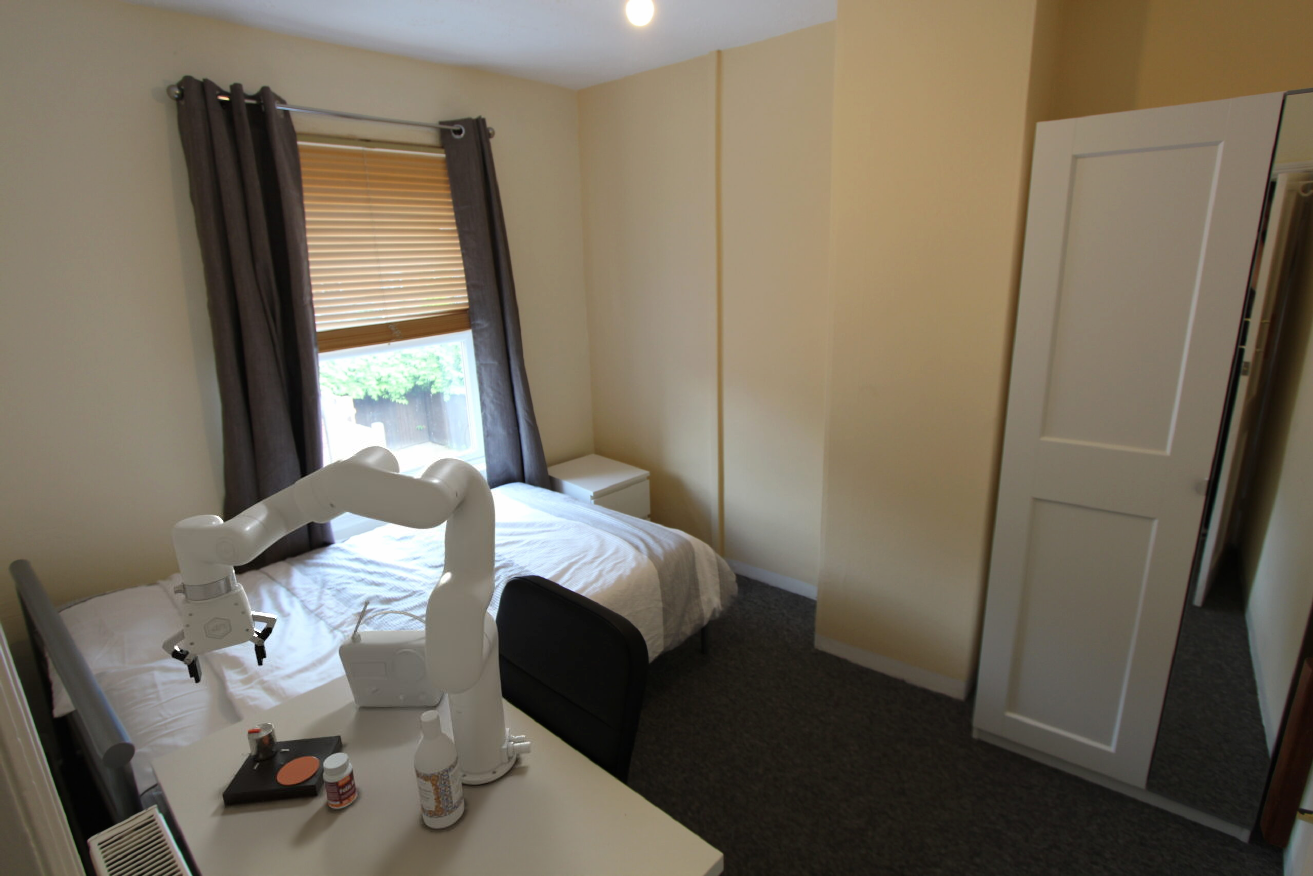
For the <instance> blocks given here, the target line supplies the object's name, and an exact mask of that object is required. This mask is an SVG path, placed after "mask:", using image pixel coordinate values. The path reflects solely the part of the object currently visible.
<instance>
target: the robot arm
mask: <svg viewBox="0 0 1313 876" xmlns="http://www.w3.org/2000/svg"><path fill="white" fill-rule="evenodd" d="M400 471H401V467H400V461H399V458H398V457H397V456H396V454H395V453H394V452H393V451H392V450H391V449H389V448H388V447H385V446H383V445H378V444H370V445H366V446H362V447H359V448H357V449H356V450H353V451H352V452H349V453H348V454H345V455H344V456H341V457H340V458H338V459H336V460H335V461H332V462H331V463H329V464H327V465H325V466H323V467H321V468H320V469H318V470H316V471H314V472H311V473H310V474H307V475H306V476H304V477H302V478H300V479H298V480H297V481H295V483H294V484H291V485H290V486H287V487H286V488H284V489H282V490H280V491H278V492H276V493H274V494H272V495H270V496H269V497H266V498H264V499H262V500H261V501H259V502H257V503H255V504H254V505H252V506H250V507H248V508H247V509H245V510H243V511H242V512H241V513H239V514H237V515H236V516H234V517H232V518H231V519H229V520H226V521H223V520H222V518H221V517H219V516H218V515H215V514H201V515H195V516H191V517H187V518H185V519H182V520H179V521H178V522H177V523H175V524H174V525H173V527H172V528H171V538H172V543H173V548H174V552H175V556H176V559H177V560H176V561H177V564H178V568H179V572H180V577H181V581H182V582H181V584H179V585H176V586H173V593H174V595H178V594H180V595H182V594H183V598H182V600H181V602H180V603H181V607H180V609H181V610H180V611H181V613H180V614H181V622H182V623H181V624H182V629H180V630H179V631H178V632H176V633H175V634H173V635H172V636H170V637H168V638H167V639H166V640H164V641H163V642H162V645H161V648H162V649H163V650H164V652H166V653H167V654H169V655H170V656H171V658H172V659H174V660H177V661H180V662H182V663H183V664H184V665H186V667H187V671H188V675H189V678H190V679H194V683H195V684H199V683H200V682H201V680H202V675H203V673H202V668H201V664H200V663H201V662H200V659H199V656H198V655H202V654H206V653H207V654H208V653H211V652H214V651H218V650H222V649H226V648H231V647H234V646H238V645H242V644H245V643H247V642H251V643H253V644H254V648H253V649H254V653H255V658H256V663H257V666H258V667H262V666H264V659H267V650H266V647H265V646H266V645H265V642H266V640H267V639H268V638H269V637H270V636H271V635H272V634H273V630H274V628H275V626H276V624H277V621H278V620H277V619H278V617H277V615H276V614H271V613H264V612H259V611H253V610H252V607H251V604H250V600H249V598H248V596H247V593H246V591H245V589H244V586H243V585H242V583H239V582H237V577H236V573H235V569H234V567H238V566H244V565H246V564H248V563H250V562H252V561H253V560H254V559H256V558H257V557H258V556H259V555H261V554H262V553H263V552H264V551H265V550H267V549H268V548H269V547H271V546H272V545H274V544H275V543H276V542H277V541H279V540H281V538H283V537H284V536H287V535H288V534H290V533H292V532H293V531H296V530H298V529H300V528H301V527H304V526H305V525H307V524H309V523H312V522H313V523H317V524H326V523H328V522H330V521H333V520H334V519H336V518H338V517H340V516H342V515H344V514H346V513H350V514H352V515H355V516H358V517H363V518H367V519H370V520H374V521H379V522H384V523H388V524H392V525H393V524H394V525H397V526H402V527H406V528H409V529H415V530H429V529H434V528H437V527H440V526H441V525H442V524H444V523H446V525H445V531H444V562H443V563H444V565H443V570H442V573H441V575H440V576H439V579H438V581H437V582H436V584H435V586H434V588H433V589H432V591H431V593H430V595H429V597H428V600H427V603H426V609H425V619H424V620H425V624H424V630H425V667H426V672H427V675H428V678H429V680H430V681H431V683H432V684H433V685H434V686H435V687H436V688H437V689H438V690H440V691H442V692H444V693H443V694H446V695H447V699H448V706H449V713H450V720H451V727H452V728H451V729H452V734H453V742H454V744H455V747H456V750H457V755H458V762H459V769H460V776H461V783H462V784H465V785H482V784H486V783H487V784H488V783H490V782H493V781H495V780H497V779H499V778H500V777H502V776H504V775H505V774H506V773H507V772H508V771H509V770H510V769H511V768H512V767H513V766H514V765H515V762H516V760H517V757H518V756H517V755H518V754H522V755H523V754H525V755H526V754H531V752H532V744H531V741H526V739H527V738H526V734H524V735H523V734H522V735H516V736H514V735H511V729H510V727H506V720H505V711H504V702H503V693H502V682H501V673H500V659H499V655H500V654H499V631H498V626H497V622H496V620H495V618H494V616H493V615H492V614H491V613H490V612H489V611H488V608H489V606H490V604H491V602H492V599H493V596H494V593H495V587H496V570H495V569H496V507H495V501H494V497H493V493H492V490H491V487H490V485H489V483H488V481H487V479H486V478H485V477H484V475H483V474H482V473H481V472H480V471H479V469H477V468H476V467H475V466H473V465H472V464H471V463H469V462H467V461H466V460H463V459H461V458H457V457H453V456H443V457H439V458H436V459H435V460H432V461H430V462H429V463H427V464H426V465H425V466H424V467H422V468H421V469H420V470H419V471H418V472H417V473H416V474H415V475H414V476H413V475H407V474H402V473H400ZM257 622H258V623H265V626H264V628H263V629H262V630H261V631H260V630H258V629H257V628H255V626H256V625H255V623H257ZM183 640H184V641H185V646H186V649H187V650H186V649H184V648H181V647H178V644H179V643H180V642H181V641H183Z"/></svg>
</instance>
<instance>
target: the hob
mask: <svg viewBox="0 0 1313 876" xmlns="http://www.w3.org/2000/svg"><path fill="white" fill-rule="evenodd" d="M277 744H278V751H277V752H276V753H275V754H274V755H273V756H272V757H270V758H268V759H265V760H261V761H256V760H254V759H253V758H252V754H251V752H249V753H248V752H247V753H242V754H241V756H242V757H243V756H244V757H245V756H247V757H246V759H245V760H244V761H243V763H242V765H241V766H240V768H239V769H238V771H237V772H236V773H235V775H234V776H233V778H232V779H231V781H230V782H229V783H228V786H227V787H226V788H225V790H224V791H223V793H222V794H221V796H222V799H223V804H224V806H225V807H228V806H235V805H237V806H238V805H246V804H254V803H255V804H256V803H263V802H265V803H266V802H274V801H282V800H292V799H301V798H309V797H318V796H319V794H320V792H321V789H322V788H323V786H324V785H325V784H324V779H323V774H324V767H323V763H324V761H325V760H326V759H327V758H328V757H329V756H331V755H333V754H336V753H341V750H342V748H343V741H342V735H329V736H322V737H320V736H319V737H310V738H301V739H290V740H289V739H288V740H281V741H277ZM307 756H310V757H315V758H317V759H318V761H319V768H318V770H317V771H316V772H315V774H314V775H312V776H311V777H310V778H308V779H307V780H305V781H303V782H301V783H298V784H295V785H282V784H280V783H279V782H278V781H277V775H278V772H279V771H280V770H281V768H282V767H284V766H285V765H286V764H287V763H289V762H291V761H293V760H295V759H298V758H301V757H307Z"/></svg>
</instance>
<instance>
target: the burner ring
mask: <svg viewBox="0 0 1313 876" xmlns="http://www.w3.org/2000/svg"><path fill="white" fill-rule="evenodd" d="M318 768H319V761H318V759H317V758H315V757H310V756H307V757H301V758H298V759H295V760H293V761H291V762H289V763H287V764H286V765H285V766H284V767H282V768H281V770H280V771H279V772H278V775H277V781H278V782H279V783H280V784H282V785H295V784H298V783H301V782H303V781H305V780H307V779H308V778H310V777H311V776H312V775H314V774H315V772H316V771H317V770H318Z"/></svg>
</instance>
